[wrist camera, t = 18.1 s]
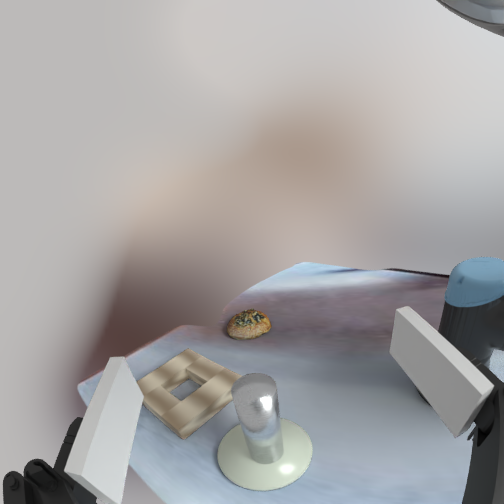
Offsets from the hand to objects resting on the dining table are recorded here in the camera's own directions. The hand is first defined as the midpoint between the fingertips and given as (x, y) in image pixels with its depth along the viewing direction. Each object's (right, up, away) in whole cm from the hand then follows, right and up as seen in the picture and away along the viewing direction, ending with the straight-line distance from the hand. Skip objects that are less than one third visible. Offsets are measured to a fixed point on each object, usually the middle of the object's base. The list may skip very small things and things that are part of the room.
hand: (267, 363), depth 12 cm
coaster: (+1, -25, +21) cm, 32 cm away
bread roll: (-1, -14, +55) cm, 57 cm away
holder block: (-13, -22, +35) cm, 43 cm away
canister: (+1, -24, +21) cm, 32 cm away
